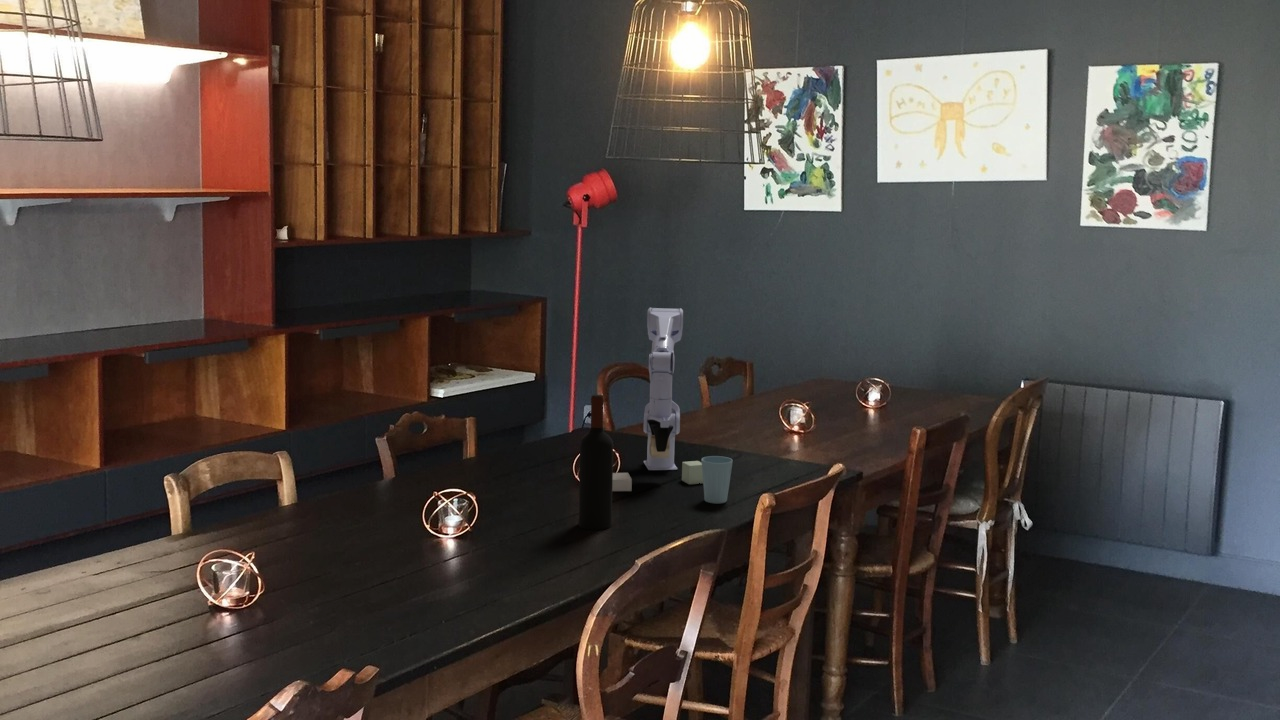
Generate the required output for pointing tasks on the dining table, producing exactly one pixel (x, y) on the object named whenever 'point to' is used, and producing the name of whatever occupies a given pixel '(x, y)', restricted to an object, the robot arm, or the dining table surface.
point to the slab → (622, 482)
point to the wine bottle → (596, 472)
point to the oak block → (653, 449)
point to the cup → (716, 478)
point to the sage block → (692, 472)
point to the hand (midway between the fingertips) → (659, 449)
